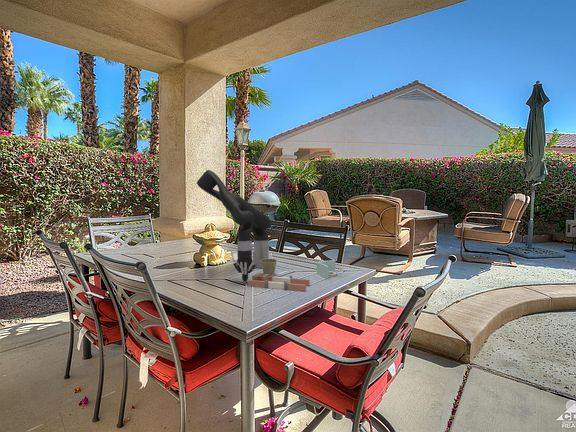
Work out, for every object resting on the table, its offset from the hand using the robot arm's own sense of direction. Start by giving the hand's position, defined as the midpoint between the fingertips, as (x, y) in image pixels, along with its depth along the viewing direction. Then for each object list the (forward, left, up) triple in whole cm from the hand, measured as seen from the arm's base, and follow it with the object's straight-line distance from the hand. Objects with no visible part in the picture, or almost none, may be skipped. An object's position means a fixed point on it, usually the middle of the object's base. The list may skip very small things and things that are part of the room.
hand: (245, 280), depth 163 cm
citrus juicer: (-21, +45, -1) cm, 50 cm away
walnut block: (+9, 0, -1) cm, 9 cm away
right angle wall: (+42, +26, -2) cm, 50 cm away
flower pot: (+8, +16, -1) cm, 18 cm away
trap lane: (+19, 0, -1) cm, 19 cm away
